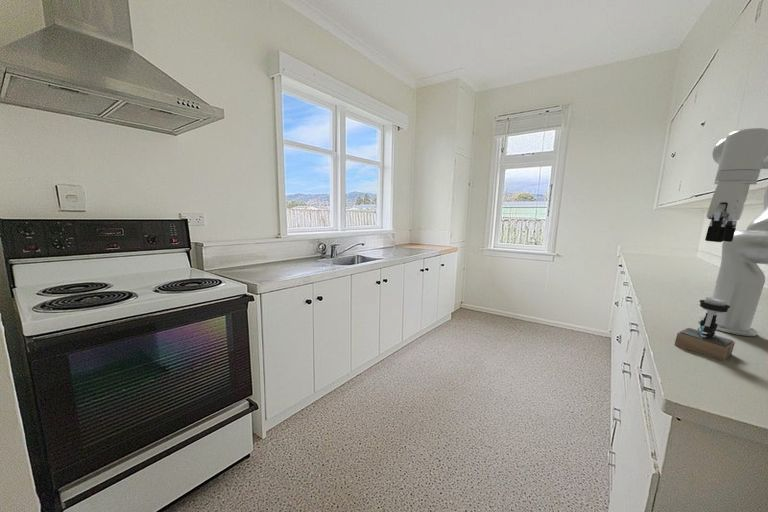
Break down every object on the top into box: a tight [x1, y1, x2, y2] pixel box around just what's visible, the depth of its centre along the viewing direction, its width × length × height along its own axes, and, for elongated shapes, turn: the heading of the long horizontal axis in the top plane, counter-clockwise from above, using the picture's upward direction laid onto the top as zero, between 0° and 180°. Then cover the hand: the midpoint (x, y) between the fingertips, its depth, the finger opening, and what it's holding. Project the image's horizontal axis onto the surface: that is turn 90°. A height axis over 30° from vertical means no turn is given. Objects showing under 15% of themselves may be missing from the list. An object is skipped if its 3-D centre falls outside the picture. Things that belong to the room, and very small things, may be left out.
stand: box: [674, 327, 736, 362], centre depth 78 cm, size 8×9×4 cm
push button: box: [697, 297, 730, 338], centre depth 77 cm, size 7×5×10 cm
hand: (718, 241), depth 83 cm, fingers open, 9 cm apart
